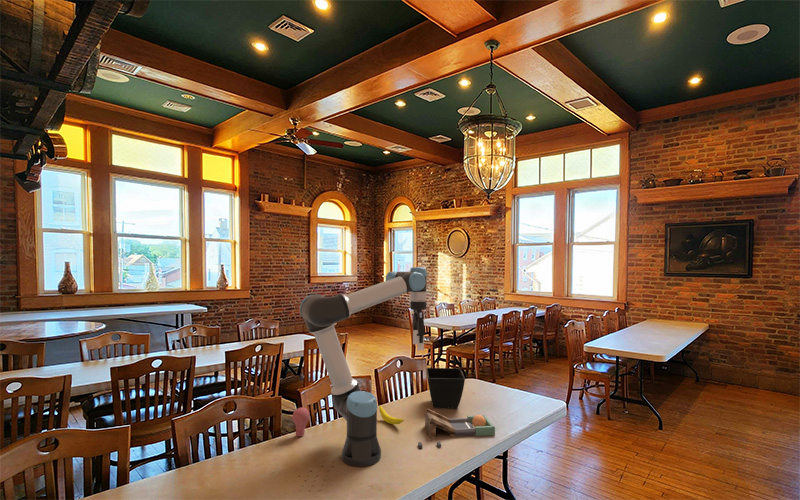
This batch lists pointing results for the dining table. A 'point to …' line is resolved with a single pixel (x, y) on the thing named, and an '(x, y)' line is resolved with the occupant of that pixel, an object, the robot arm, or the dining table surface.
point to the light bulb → (300, 420)
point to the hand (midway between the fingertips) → (418, 347)
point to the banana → (389, 417)
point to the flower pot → (445, 386)
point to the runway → (462, 427)
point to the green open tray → (483, 427)
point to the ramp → (437, 423)
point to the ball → (479, 421)
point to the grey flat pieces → (437, 444)
